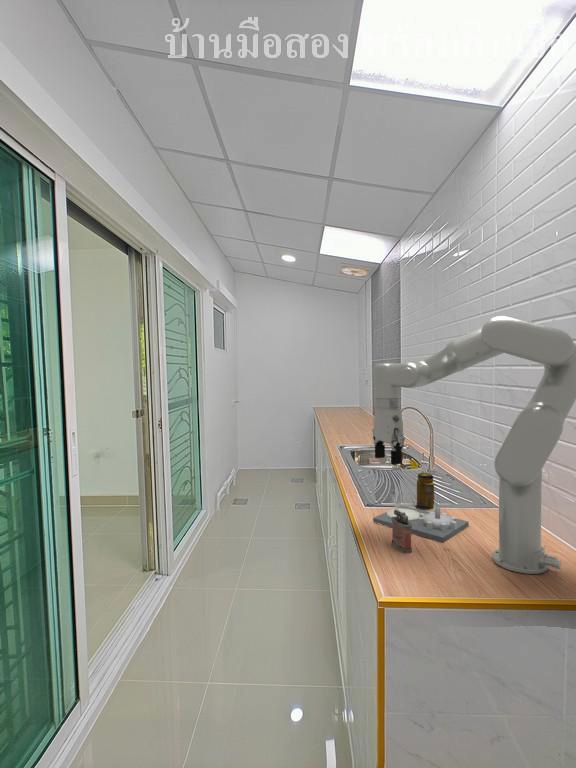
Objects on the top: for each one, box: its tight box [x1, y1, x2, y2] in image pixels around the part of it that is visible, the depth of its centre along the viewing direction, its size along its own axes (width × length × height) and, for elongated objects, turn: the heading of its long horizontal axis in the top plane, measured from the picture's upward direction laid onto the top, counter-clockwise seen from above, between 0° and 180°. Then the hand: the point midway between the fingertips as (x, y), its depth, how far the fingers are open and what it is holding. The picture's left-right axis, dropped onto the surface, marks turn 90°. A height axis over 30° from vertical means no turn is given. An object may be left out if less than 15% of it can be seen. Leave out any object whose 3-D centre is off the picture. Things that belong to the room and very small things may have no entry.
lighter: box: [391, 510, 413, 554], centre depth 119 cm, size 8×3×10 cm, turn 17°
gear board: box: [372, 505, 470, 543], centre depth 137 cm, size 24×18×6 cm
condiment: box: [413, 472, 437, 512], centre depth 154 cm, size 7×8×12 cm
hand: (387, 460), depth 127 cm, fingers open, 9 cm apart
